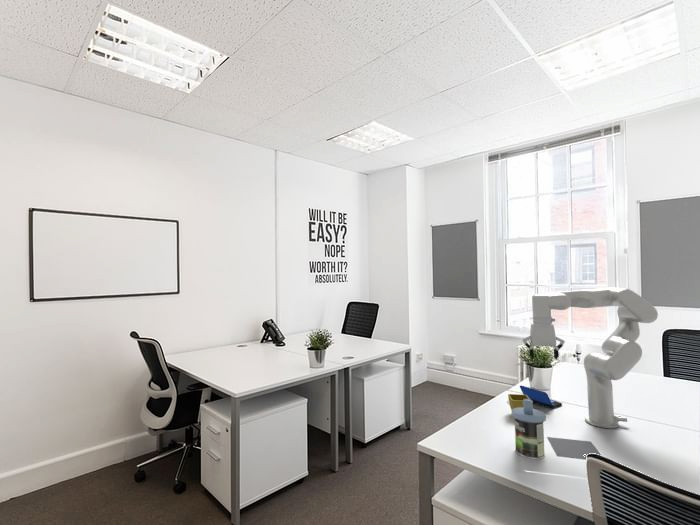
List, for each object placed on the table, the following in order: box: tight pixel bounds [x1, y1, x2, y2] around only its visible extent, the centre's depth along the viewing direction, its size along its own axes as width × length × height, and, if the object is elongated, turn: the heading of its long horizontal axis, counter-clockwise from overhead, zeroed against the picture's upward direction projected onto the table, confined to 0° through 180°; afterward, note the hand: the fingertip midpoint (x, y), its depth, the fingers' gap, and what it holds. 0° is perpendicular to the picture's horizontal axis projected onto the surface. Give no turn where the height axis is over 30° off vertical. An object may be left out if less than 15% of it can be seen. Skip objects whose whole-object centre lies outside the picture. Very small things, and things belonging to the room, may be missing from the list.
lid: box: [511, 399, 547, 423], centre depth 136 cm, size 12×12×6 cm
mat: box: [546, 436, 602, 460], centre depth 137 cm, size 16×16×1 cm
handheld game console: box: [519, 385, 563, 410], centre depth 185 cm, size 16×13×9 cm
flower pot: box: [507, 393, 529, 411], centre depth 170 cm, size 9×9×9 cm
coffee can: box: [514, 418, 546, 460], centre depth 136 cm, size 10×10×14 cm
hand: (543, 358), depth 160 cm, fingers open, 9 cm apart
